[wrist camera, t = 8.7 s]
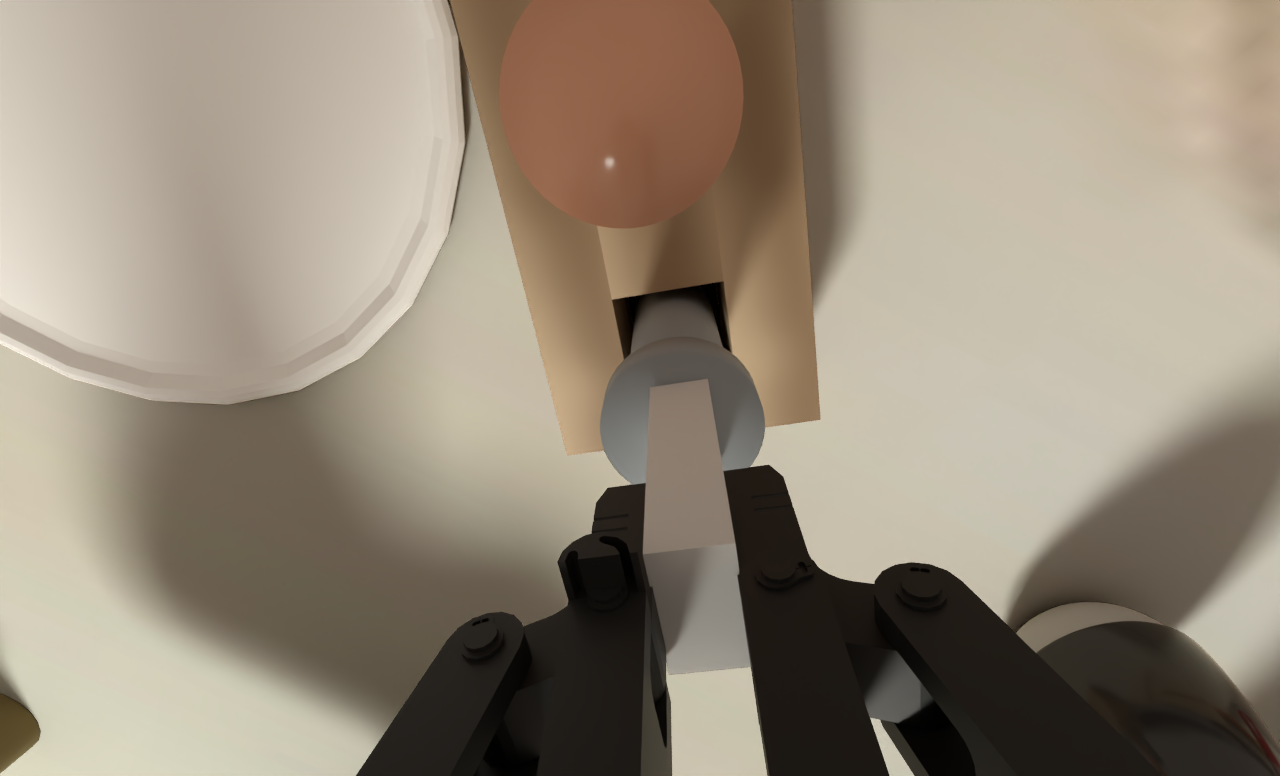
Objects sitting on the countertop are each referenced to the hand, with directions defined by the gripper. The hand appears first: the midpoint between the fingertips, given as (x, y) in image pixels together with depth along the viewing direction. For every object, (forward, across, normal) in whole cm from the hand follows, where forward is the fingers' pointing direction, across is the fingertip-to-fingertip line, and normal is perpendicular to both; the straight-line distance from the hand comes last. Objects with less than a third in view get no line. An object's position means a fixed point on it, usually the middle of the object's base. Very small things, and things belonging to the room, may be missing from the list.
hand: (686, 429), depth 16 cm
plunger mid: (+8, 0, +8) cm, 11 cm away
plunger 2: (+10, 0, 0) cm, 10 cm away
